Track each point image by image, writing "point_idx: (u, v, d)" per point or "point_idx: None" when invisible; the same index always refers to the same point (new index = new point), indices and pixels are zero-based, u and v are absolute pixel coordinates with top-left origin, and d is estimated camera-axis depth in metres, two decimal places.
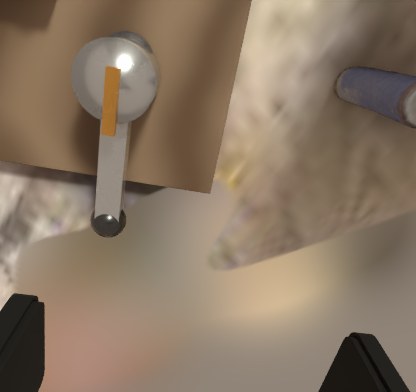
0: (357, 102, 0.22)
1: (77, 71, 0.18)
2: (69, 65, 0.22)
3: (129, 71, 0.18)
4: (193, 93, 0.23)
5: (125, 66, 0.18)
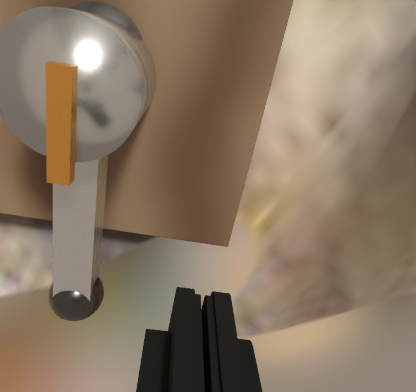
0: None
1: None
2: None
3: (93, 71, 0.10)
4: (206, 104, 0.15)
5: (86, 62, 0.10)
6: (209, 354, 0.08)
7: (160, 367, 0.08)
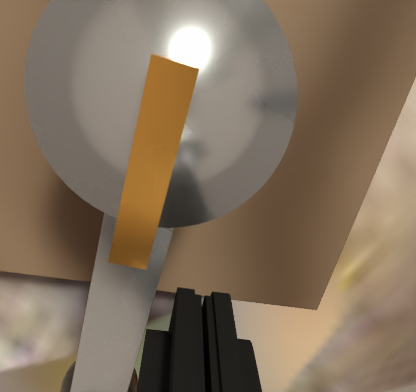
0: None
1: (47, 63, 0.05)
2: None
3: (223, 80, 0.05)
4: (314, 124, 0.10)
5: (213, 62, 0.05)
6: (209, 354, 0.08)
7: (160, 368, 0.08)
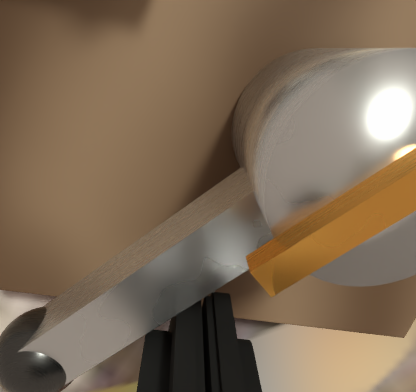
0: None
1: (352, 87, 0.05)
2: (179, 107, 0.10)
3: None
4: None
5: None
6: (209, 354, 0.08)
7: (160, 368, 0.08)
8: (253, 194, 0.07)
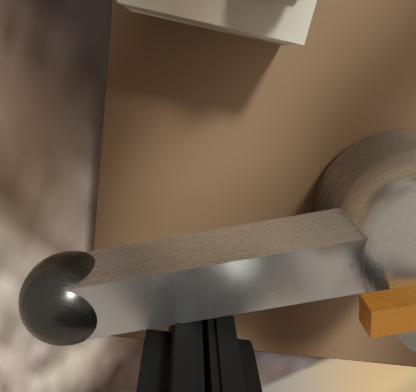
0: None
1: None
2: (269, 179, 0.11)
3: None
4: None
5: None
6: (209, 354, 0.08)
7: (160, 368, 0.08)
8: (366, 241, 0.08)
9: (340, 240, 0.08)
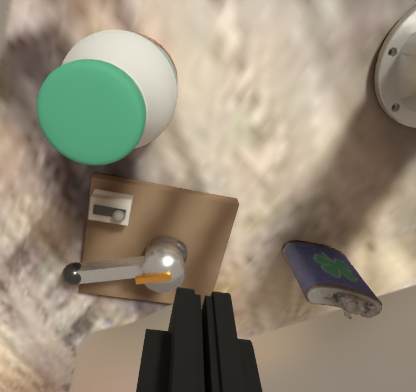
0: None
1: (163, 260, 0.34)
2: (131, 247, 0.38)
3: (171, 281, 0.35)
4: (201, 259, 0.40)
5: (172, 279, 0.35)
6: (209, 354, 0.08)
7: (160, 367, 0.08)
8: (142, 265, 0.35)
9: (137, 264, 0.36)
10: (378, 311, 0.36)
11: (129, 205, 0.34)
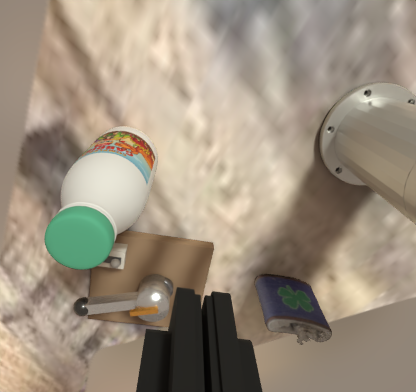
0: None
1: (151, 297, 0.43)
2: (128, 283, 0.47)
3: (158, 313, 0.44)
4: None
5: (159, 311, 0.44)
6: (209, 354, 0.08)
7: (160, 368, 0.08)
8: (136, 300, 0.44)
9: (132, 299, 0.45)
10: (328, 337, 0.43)
11: (123, 254, 0.43)
